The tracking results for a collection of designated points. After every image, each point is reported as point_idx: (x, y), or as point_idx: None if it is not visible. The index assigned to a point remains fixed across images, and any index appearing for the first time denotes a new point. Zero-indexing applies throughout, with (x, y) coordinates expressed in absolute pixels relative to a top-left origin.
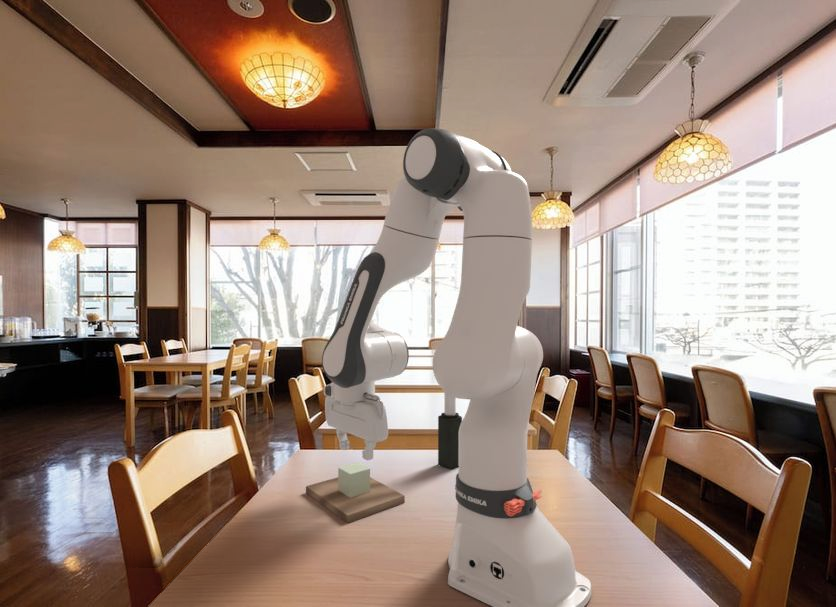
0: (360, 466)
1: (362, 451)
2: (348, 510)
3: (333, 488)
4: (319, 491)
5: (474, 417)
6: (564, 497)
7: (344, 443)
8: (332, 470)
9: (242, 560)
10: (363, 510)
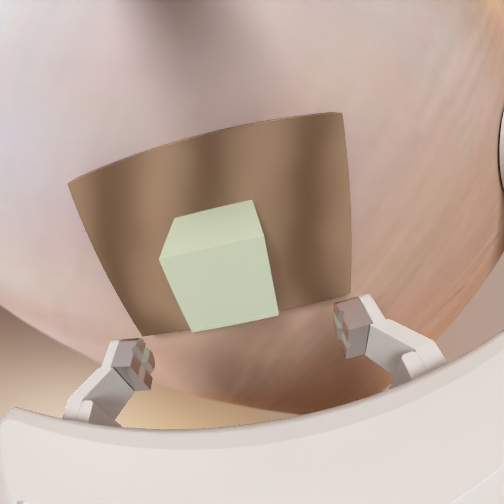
0: (216, 264)
1: (347, 356)
2: (331, 287)
3: None
4: (185, 320)
5: None
6: None
7: (147, 379)
8: (23, 237)
9: (335, 392)
10: (350, 255)
